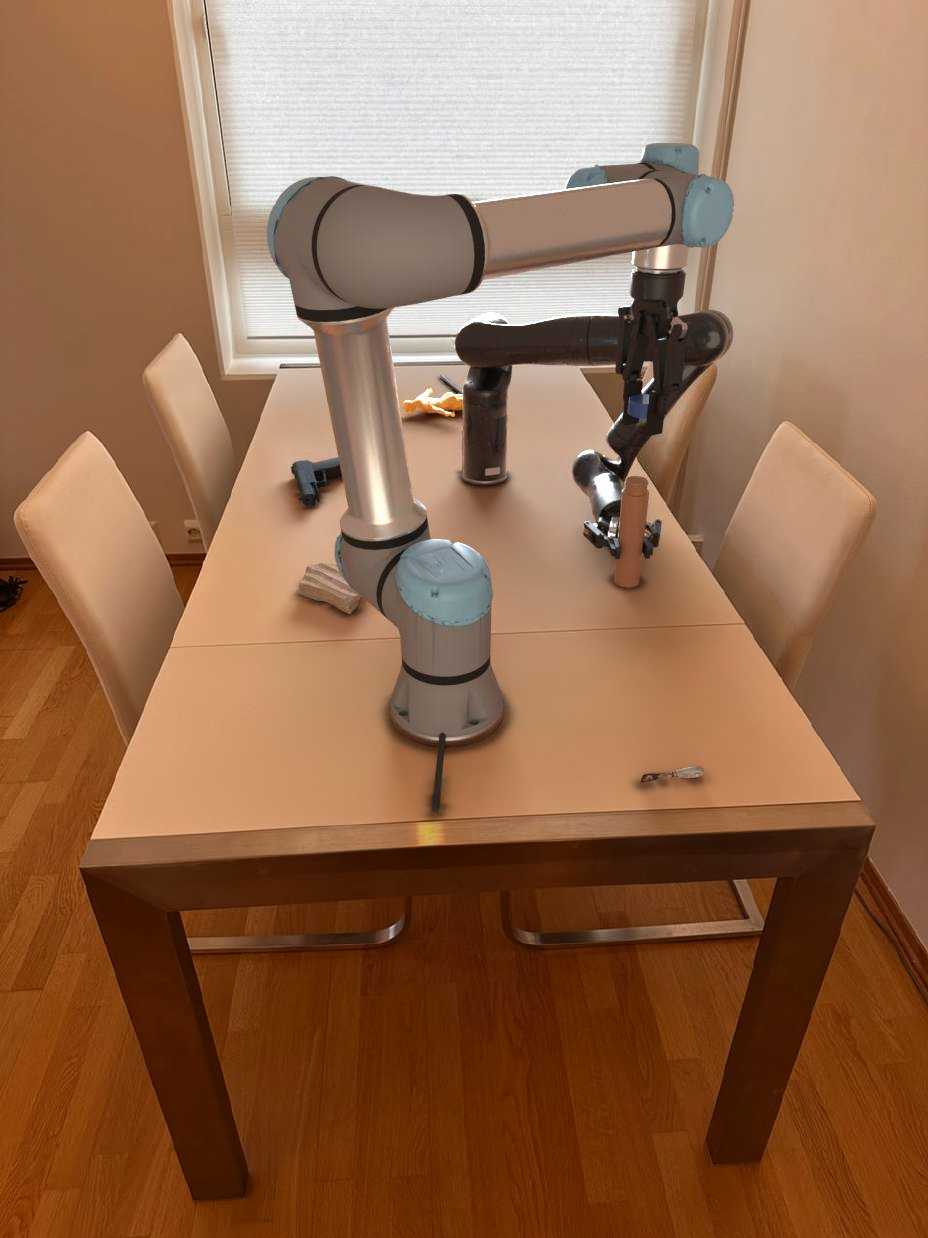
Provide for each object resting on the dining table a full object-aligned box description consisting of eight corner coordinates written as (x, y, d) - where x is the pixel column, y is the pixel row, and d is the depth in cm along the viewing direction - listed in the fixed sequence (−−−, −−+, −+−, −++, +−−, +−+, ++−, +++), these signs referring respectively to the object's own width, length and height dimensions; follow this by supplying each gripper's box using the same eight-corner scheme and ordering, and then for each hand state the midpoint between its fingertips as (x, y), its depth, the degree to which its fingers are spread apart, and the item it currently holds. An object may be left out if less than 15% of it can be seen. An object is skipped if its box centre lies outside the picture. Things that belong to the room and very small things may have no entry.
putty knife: (703, 777, 109) (705, 767, 109) (642, 788, 108) (644, 777, 107) (700, 772, 110) (702, 762, 109) (639, 782, 109) (640, 771, 108)
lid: (666, 413, 135) (668, 399, 134) (645, 421, 133) (647, 406, 131) (641, 405, 139) (643, 391, 137) (620, 412, 136) (621, 398, 135)
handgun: (359, 501, 179) (299, 508, 177) (345, 467, 193) (290, 474, 191) (358, 487, 178) (297, 493, 175) (344, 454, 192) (288, 460, 189)
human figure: (395, 413, 223) (394, 398, 221) (438, 390, 237) (438, 375, 235) (462, 429, 215) (462, 413, 213) (502, 404, 229) (503, 388, 227)
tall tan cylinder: (644, 583, 151) (656, 481, 141) (625, 590, 149) (635, 487, 139) (627, 572, 154) (638, 472, 144) (608, 579, 152) (617, 478, 142)
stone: (385, 581, 151) (385, 567, 150) (351, 615, 142) (350, 601, 141) (319, 567, 156) (318, 554, 154) (282, 600, 146) (280, 587, 145)
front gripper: (724, 276, 120) (700, 442, 132) (638, 255, 133) (624, 408, 145) (681, 282, 116) (661, 451, 129) (598, 260, 129) (587, 416, 142)
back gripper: (575, 490, 158) (591, 534, 143) (656, 489, 158) (679, 532, 144) (573, 529, 162) (588, 575, 147) (651, 527, 162) (674, 573, 148)
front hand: (641, 428), depth 137 cm, fingers closed on lid, 5 cm apart
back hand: (633, 553), depth 145 cm, fingers closed on tall tan cylinder, 4 cm apart
